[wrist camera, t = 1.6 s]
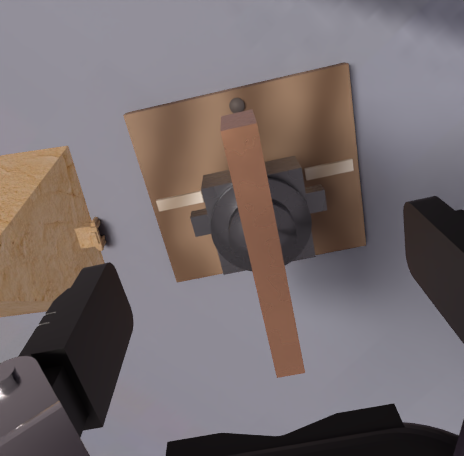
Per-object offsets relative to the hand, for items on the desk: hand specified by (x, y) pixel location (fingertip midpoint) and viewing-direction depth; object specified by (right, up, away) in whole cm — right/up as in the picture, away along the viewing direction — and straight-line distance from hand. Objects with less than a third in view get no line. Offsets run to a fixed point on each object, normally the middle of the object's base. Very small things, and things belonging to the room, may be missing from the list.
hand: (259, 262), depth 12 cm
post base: (+1, +5, +26) cm, 26 cm away
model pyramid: (-21, 0, +29) cm, 36 cm away
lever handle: (+1, +2, +20) cm, 20 cm away
